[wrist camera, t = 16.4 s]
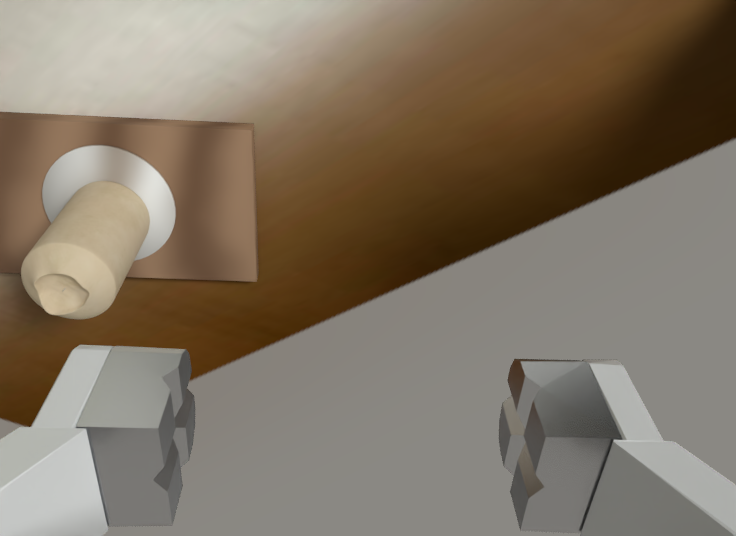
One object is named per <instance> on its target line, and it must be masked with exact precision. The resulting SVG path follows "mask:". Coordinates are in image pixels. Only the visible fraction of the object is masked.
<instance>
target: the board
mask: <svg viewBox="0 0 736 536" xmlns="http://www.w3.org/2000/svg"><path fill="white" fill-rule="evenodd" d="M96 181H111V182H116V183H119V184H122V185H124V186H126V187H128V188H129V189H131V190H132V191H134V192H135V193H136V194H137V195H138V196H139V197H140V198H141V199H142V200H143V202H144V203H145V205H146V207H147V209H148V212H149V217H150V225H149V230H148V234H147V236H146V238H145V240H144V242H143V244H142V246H141V248H140V250H139V252H138V254H137V256H136V258H135V260H134V262H133V264H132V266H131V268H130V270H129V272H128V274H127V276H126V277H138V278H167V279H195V280H224V281H253V282H257V278H258V242H257V210H256V177H255V145H254V124H247V123H225V122H204V121H183V120H161V119H140V118H119V117H98V116H76V115H55V114H34V113H12V112H0V273H21V267H22V263H23V261H24V259H25V257H26V256H27V255H28V253H29V252H30V251H31V249H32V248H33V247H34V245H35V244H36V243H37V242H38V240H39V239H40V238H41V236H42V235H43V234H44V232H45V231H46V230H47V229H48V227H49V226H50V225H51V223H52V222H53V221H54V219H55V218H56V217H57V216H58V214H59V213H60V212H61V210H62V209H63V208H64V206H65V205H66V204H67V203H68V201H69V200H70V199H71V198H72V196H73V195H74V194H75V193H76V192H77V191H78V190H79V189H80V188H82V187H83V186H85V185H87V184H89V183H92V182H96Z"/></svg>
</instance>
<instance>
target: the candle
mask: <svg viewBox="0 0 736 536" xmlns="http://www.w3.org/2000/svg"><path fill="white" fill-rule="evenodd" d="M149 225H150V217H149V212H148V209H147V207H146V205H145V203H144V202H143V200H142V199H141V198H140V197H139V196H138V195H137V194H136V193H135V192H134V191H132V190H131V189H129V188H128V187H126V186H124V185H122V184H119V183H116V182H111V181H96V182H92V183H89V184H87V185H85V186H83V187H82V188H80V189H79V190H78V191H77V192H76V193H75V194H74V195H73V196H72V198H71V199H70V200H69V201H68V203H67V204H66V205H65V206H64V208H63V209H62V210H61V212H60V213H59V214H58V216H57V217H56V218H55V219H54V221H53V222H52V223H51V225H50V226H49V227H48V229H47V230H46V231H45V232H44V234H43V235H42V236H41V238H40V239H39V240H38V242H37V243H36V244H35V245H34V247H33V248H32V249H31V251H30V252H29V253H28V255H27V256H26V257H25V259H24V261H23V263H22V267H21V278H22V282H23V285H24V287H25V290H26V291H27V293H28V294H29V296H30V297H31V298H32V299H33V300H34V301H35V302H36V303H37V304H38V305H39V306H41V307H42V308H43V309H44V310H45V311H46V312H47V313H49V314H51V315H57V316H61V317H64V318H69V319H88V318H92V317H95V316H98V315H100V314H102V313H103V312H105V311H106V310H107V309H108V308H109V307H110V306H111V304H112V303H113V301H114V299H115V297H116V295H117V293H118V291H119V289H120V287H121V285H122V283H123V281H124V279H125V277H126V276H127V274H128V272H129V270H130V268H131V266H132V264H133V262H134V260H135V258H136V256H137V254H138V252H139V250H140V248H141V246H142V244H143V242H144V240H145V238H146V236H147V234H148V230H149Z"/></svg>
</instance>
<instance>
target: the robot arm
mask: <svg viewBox="0 0 736 536" xmlns="http://www.w3.org/2000/svg"><path fill="white" fill-rule="evenodd" d="M191 372H192V371H191V364H190V357H189V353H188V352H187V350H186V349H167V348H147V347H127V346H116V347H113V346H96V345H79V346H77V347H76V348H75V349H73V350H72V351H71V353H70V355H69V357H68V359H67V360H66V362H65V364H64V366H63V368H62V370H61V372H60V373H59V375H58V377H57V379H56V381H55V383H54V385H53V387H52V388H51V390H50V392H49V394H48V396H47V398H46V400H45V401H44V403H43V405H42V407H41V409H40V411H39V413H38V414H37V416H36V418H35V420H34V422H33V424H32V426H31V427H19V428H17V429H16V430H14V431H13V432H11V433H9V434H8V435H6V436H5V437H3V438H2V439H0V536H103V535H104V534H105V533H106V532H107V531H108V526H172V524H173V521H174V517H175V513H176V509H177V505H178V501H179V497H180V493H181V490H182V477H181V467H182V466H183V465H184V464H185V463H186V462H187V461H189V458H190V454H191V449H192V445H193V437H194V429H195V401H194V395H193V394H192V393H191V392H190V391H189V390H188V389H187V386H188V383H189V379H190V375H191ZM508 383H509V387H510V390H511V394H512V395H511V396H510V397H509V398H508V399H507V400H506V401H504V402H503V404H502V409H501V414H500V420H499V443H500V451H501V456H502V461H503V465H504V467H505V468H506V469H507V470H508V471H509V472H510V473H512V474H513V475H514V477H513V481H512V486H511V490H510V493H511V497H512V500H513V505H514V508H515V512H516V516H517V520H518V524H519V528H520V530H521V531H539V532H540V531H541V532H563V533H581V534H580V536H736V485H735V484H734V483H732V482H731V481H729V480H728V479H726V478H725V477H724V476H722V475H721V474H719V473H718V472H717V471H715V470H714V469H712V468H711V467H710V466H708V465H707V464H705V463H704V462H702V461H701V460H699V459H698V458H696V457H695V456H694V455H692V454H691V453H690V452H688V451H687V450H685V449H684V448H682V447H681V446H680V445H678V444H677V443H675V442H674V441H663V439H662V437H661V435H660V434H659V432H658V430H657V428H656V426H655V424H654V422H653V420H652V418H651V417H650V415H649V413H648V411H647V409H646V407H645V405H644V403H643V402H642V400H641V398H640V396H639V394H638V392H637V391H636V389H635V387H634V385H633V383H632V381H631V379H630V377H629V375H628V374H627V372H626V370H625V368H624V366H623V364H622V363H620V362H619V361H617V360H582V361H577V360H536V359H535V360H534V359H514V361H513V363H512V365H511V368H510V372H509V377H508Z"/></svg>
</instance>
